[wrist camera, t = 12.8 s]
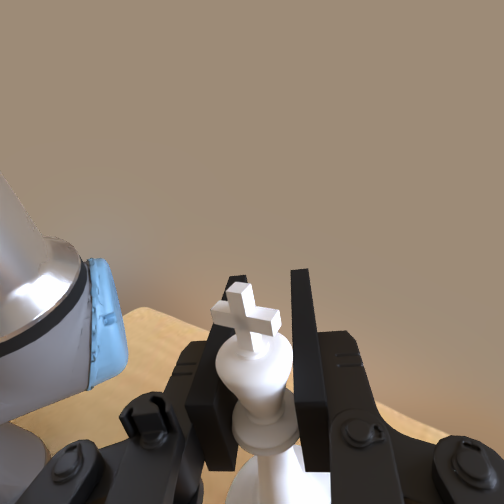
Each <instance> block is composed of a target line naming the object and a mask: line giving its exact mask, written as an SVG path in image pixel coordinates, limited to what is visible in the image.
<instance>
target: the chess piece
mask: <svg viewBox="0 0 504 504" xmlns="http://www.w3.org/2000/svg"><path fill="white" fill-rule="evenodd" d="M226 295H227V299H228V301H222V300H219V301H218V302H217V303H216V304H215V305H214V306H213V307H212V308H211V309H210V311H211V315H212V318H213V322H214V324H217V325H222V326H226V327H231V328H235V332H236V334H235V335H233V336H232V337H230V338H229V339H228V340H227V341H226V342H225V343H224V344H223V345H222V346H221V348H220V349H219V351H218V353H217V356H216V370H217V373H218V375H219V377H220V379H221V380H222V381H223V383H224V384H225V385H226V386H227V388H228V389H229V390H230V391H231V392H233V393H234V394H235V395H236V397H237V398H238V401H237V403H236V405H235V407H234V410H233V414H232V433H233V436H234V438H235V440H236V442H237V443H238V444H239V446H240V447H241V448H243V449H244V450H245V451H247V452H248V453H251V454H253V455H254V456H253V457H252V458H251V459H250V460H248V461H247V462H246V463H245V464H244V466H243V467H242V468H241V469H240V471H239V472H238V473H237V475H236V477H235V478H234V480H233V482H232V484H231V486H230V489H229V491H228V494H227V497H226V501H225V504H331V487H330V473H327V472H305V466H304V460H303V454H302V448H301V446H299V445H294V444H295V443H296V442H297V440H298V439H299V437H300V435H299V429H298V423H297V417H296V410H295V404H294V394H293V393H292V392H291V391H290V390H288V389H287V388H286V382H287V379H288V377H289V374H290V370H291V366H292V360H293V352H292V348H291V345H290V343H289V342H288V340H287V339H286V338H285V337H284V336H283V335H282V334H280V333H278V332H277V331H278V329H279V328H280V326H281V320H280V313H279V310H276V309H270V308H264V307H258V306H255V302H254V297H253V292H252V287H251V284H250V283H241V282H235V283H233V284H232V285H231V286H230V287H229V288H228V289H227V290H226Z"/></svg>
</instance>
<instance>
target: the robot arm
mask: <svg viewBox="0 0 504 504" xmlns="http://www.w3.org/2000/svg"><path fill="white" fill-rule="evenodd" d="M235 282H241V283H248V282H247V278H246V275H240V276H230V277H229V280H228V283H227V285H226V288H225V291H224V294H223V297H222V301H228V299H227V295H226V290H227V289H228V288H229V287H230V286H231V285H232V284H233V283H235ZM291 305H292V342H293V378H294V404H295V410H296V417H297V423H298V429H299V435H300V441H301V448H302V454H303V460H304V466H305V472H327V473H330V487H331V504H504V460H503V459H502V458H501V457H500V456H499V455H498V454H497V453H496V452H495V451H494V450H493V449H491V448H489V447H488V446H486V445H485V444H483V443H481V442H480V441H477V440H474V439H471V438H469V437H466V436H452V435H450V436H448V437H445V438H443V439H440V440H439V442H438V443H437V444H436V445H435V444H431V443H428V442H425V441H421V440H418V439H414V438H411V437H409V436H406V435H403V434H401V433H400V432H398V431H396V430H395V429H393V428H392V427H391V426H390V425H389V424H387V423H386V422H385V421H384V419H383V418H382V417H381V415H380V414H379V411H378V409H377V407H376V404H375V401H374V398H373V394H372V391H371V388H370V385H369V381H368V378H367V375H366V372H365V369H364V366H363V362H362V359H361V356H360V352H359V349H358V346H357V343H356V340H355V339H354V338H353V337H352V336H351V335H350V334H349V333H348V332H347V331H332V332H317V327H316V321H315V314H314V307H313V299H312V292H311V286H310V278H309V272H308V269H298V270H291ZM235 334H236V332H235V328H231V327H226V326H222V325H217V324H214V322H213V325H212V328H211V331H210V333H209V336H208V339H207V341H192V342H190V343H189V344H188V346H187V347H186V348H185V349H184V350H183V351H182V352H181V354H180V356H179V359H178V361H177V363H176V366H175V368H174V370H173V372H172V376H171V377H170V379H169V381H168V383H167V386H166V388H165V390H164V392H163V393H162V392H149V393H146V394H142V395H141V396H139V397H137V398H135V399H134V400H132V401H131V402H130V403H129V404H128V405H127V406H126V407H125V408H124V409H123V411H122V413H121V414H120V416H119V419H120V421H121V423H122V425H123V427H124V429H125V431H126V433H127V435H128V437H129V438H128V439H126V440H124V441H121V442H118V443H115V444H112V445H109V446H106V447H104V448H101V449H98V448H97V446H96V445H95V443H94V442H92V441H90V440H88V439H87V440H78V441H76V442H73V443H71V444H68V445H67V446H66V447H64V448H63V449H61V450H60V451H58V452H57V453H56V454H55V455H54V456H53V457H52V458H51V455H50V452H49V450H48V449H47V447H46V446H45V444H44V443H43V442H42V440H41V439H40V438H39V437H37V436H36V435H35V434H33V433H32V432H30V431H27V430H25V429H23V428H21V427H19V426H17V425H14V424H12V423H10V422H8V421H11V420H13V419H15V418H18V417H20V416H23V415H25V414H28V413H30V412H32V411H35V410H38V409H40V408H43V407H45V406H48V405H50V404H53V403H55V402H58V401H60V400H63V399H65V398H68V397H70V396H73V395H75V394H78V393H81V392H83V391H89V390H91V389H93V388H94V386H96V385H98V384H100V383H102V382H104V381H106V380H108V379H111V378H113V377H115V376H117V375H118V374H120V373H121V372H122V371H123V370H124V368H125V367H126V365H127V362H128V347H127V340H126V334H125V328H124V323H123V318H122V313H121V309H120V304H119V301H118V296H117V292H116V288H115V284H114V280H113V277H112V273H111V270H110V268H109V265H108V263H107V262H106V260H104V259H102V258H97V259H94V258H90V259H87V261H86V262H83V261H82V259H81V257H80V256H79V254H78V252H77V251H76V250H75V248H74V247H73V246H72V245H71V244H70V243H69V242H67V241H65V240H63V239H60V238H57V237H52V236H45V235H42V234H41V232H40V231H39V229H38V228H37V226H36V225H35V223H34V222H33V220H32V219H31V217H30V215H29V214H28V212H27V211H26V210H25V208H24V206H23V205H22V203H21V202H20V200H19V199H18V197H17V196H16V194H15V192H14V191H13V190H12V188H11V186H10V185H9V183H8V182H7V180H6V179H5V177H4V176H3V174H2V173H1V171H0V504H202V502H203V494H204V489H203V481H202V479H201V473H202V469H203V465H204V461H205V462H206V465H207V467H208V470H209V471H235V465H236V458H237V451H238V443H237V442H236V440H235V438H234V436H233V433H232V414H233V410H234V407H235V405H236V403H237V401H238V398H237V397H236V395H235V394H234V393H233V392H231V391H230V390H229V389H228V388H227V386H226V385H225V384H224V383H223V381H222V380H221V379H220V377H219V375H218V373H217V370H216V356H217V353H218V351H219V349H220V348H221V346H222V345H223V344H224V343H225V342H226V341H227V340H228V339H229V338H230V337H232V336H233V335H235Z"/></svg>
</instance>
